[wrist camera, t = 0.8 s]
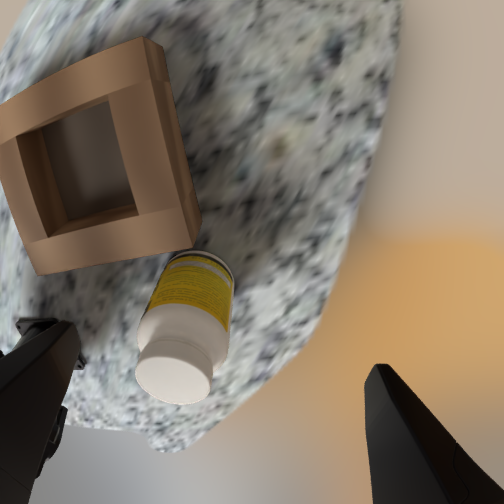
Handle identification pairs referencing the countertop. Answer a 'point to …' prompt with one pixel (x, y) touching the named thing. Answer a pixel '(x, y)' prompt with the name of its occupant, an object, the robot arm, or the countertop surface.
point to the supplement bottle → (185, 328)
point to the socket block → (98, 162)
